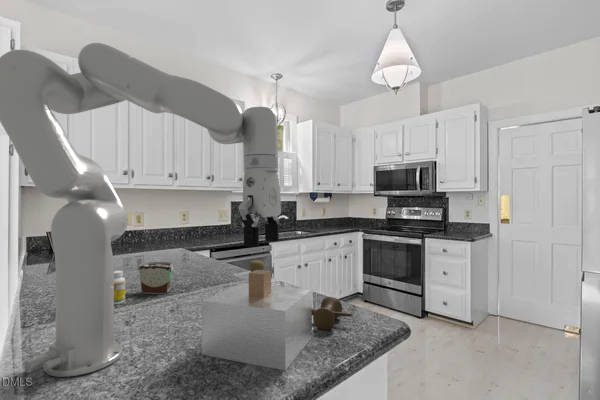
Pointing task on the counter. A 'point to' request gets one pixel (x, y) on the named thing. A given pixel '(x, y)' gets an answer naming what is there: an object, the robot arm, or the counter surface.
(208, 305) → the box with wooden handle
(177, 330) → the counter surface
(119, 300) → the supplement bottle
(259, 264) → the olive green tapered piece
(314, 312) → the kendama
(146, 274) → the food container
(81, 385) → the counter surface
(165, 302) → the counter surface
